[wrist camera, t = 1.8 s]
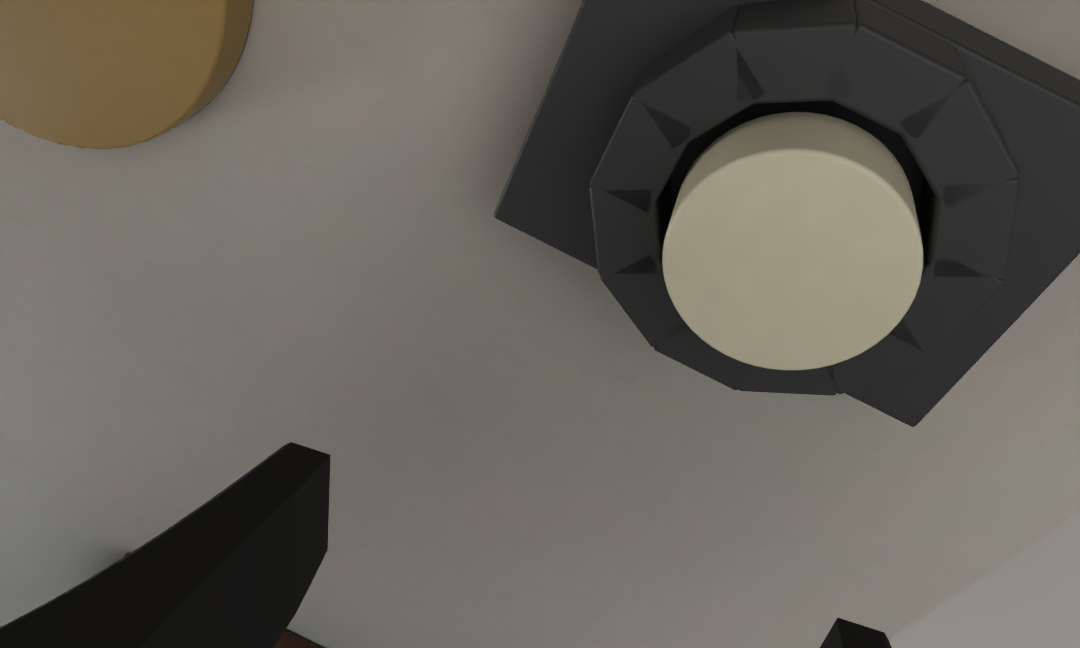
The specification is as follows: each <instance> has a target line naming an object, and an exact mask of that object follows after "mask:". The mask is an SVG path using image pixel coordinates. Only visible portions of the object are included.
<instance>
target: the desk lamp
mask: <svg viewBox="0 0 1080 648" xmlns="http://www.w3.org/2000/svg"><path fill="white" fill-rule="evenodd" d="M252 5H253V0H0V119H1V120H3V121H5V122H7V123H8V124H10V125H12V126H14V127H16V128H18V129H20V130H23V131H25V132H27V133H30V134H32V135H34V136H37V137H40V138H43V139H46V140H49V141H52V142H56V143H59V144H63V145H69V146H75V147H80V148H96V149H111V148H119V147H128V146H132V145H135V144H138V143H142V142H145V141H148V140H150V139H152V138H154V137H156V136H158V135H160V134H162V133H164V132H166V131H168V130H170V129H171V128H173V127H175V126H177V125H178V124H180V123H182V122H183V121H185V120H187V119H188V118H190V117H192V116H193V115H194V114H196V113H197V112H198V111H200V110H201V109H202V108H204V107H205V106H206V105H208V104H209V103H210V101H211V100H212V99H213V98H214V97H215V96H216V95H217V94H218V93H219V91H220V90H221V89H222V88H223V87H224V85H225V83H226V82H227V80H228V79H229V77H230V75H231V74H232V72H233V71H234V69H235V67H236V64H237V62H238V59H239V57H240V55H241V52H242V50H243V48H244V45H245V41H246V37H247V33H248V29H249V25H250V21H251V14H252Z"/></svg>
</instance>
